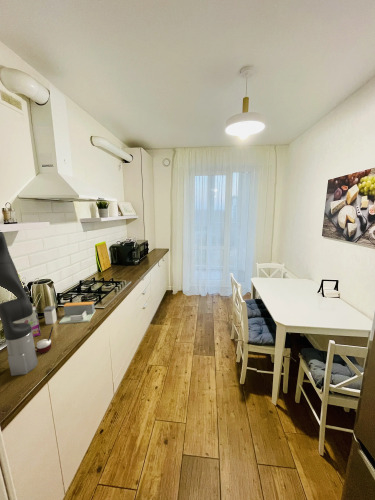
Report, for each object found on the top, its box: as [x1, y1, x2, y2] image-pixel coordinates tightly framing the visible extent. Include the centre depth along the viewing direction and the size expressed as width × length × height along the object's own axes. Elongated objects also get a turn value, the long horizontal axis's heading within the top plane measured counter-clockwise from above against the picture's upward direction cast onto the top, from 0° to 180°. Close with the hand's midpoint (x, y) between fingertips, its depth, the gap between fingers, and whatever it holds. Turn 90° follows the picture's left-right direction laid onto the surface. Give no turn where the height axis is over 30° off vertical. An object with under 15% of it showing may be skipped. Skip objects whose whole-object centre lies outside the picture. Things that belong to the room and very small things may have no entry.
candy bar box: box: [13, 306, 42, 338], centre depth 116 cm, size 11×5×16 cm, turn 129°
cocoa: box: [35, 326, 54, 354], centre depth 105 cm, size 10×6×12 cm, turn 98°
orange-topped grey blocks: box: [58, 301, 97, 325], centre depth 138 cm, size 14×18×8 cm
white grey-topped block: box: [43, 305, 58, 325], centre depth 132 cm, size 4×4×10 cm
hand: (23, 293), depth 126 cm, fingers open, 8 cm apart
